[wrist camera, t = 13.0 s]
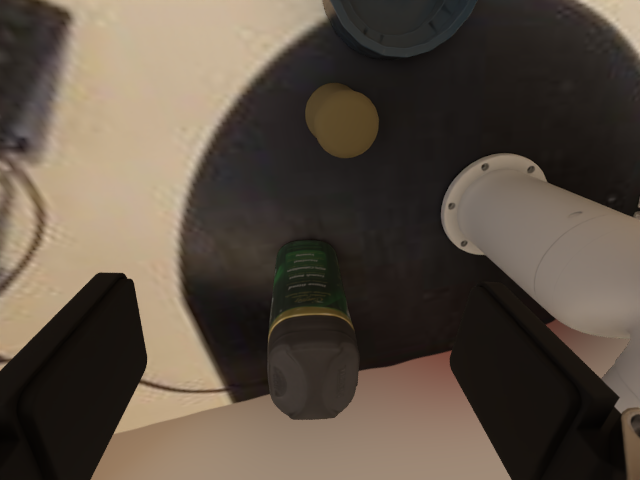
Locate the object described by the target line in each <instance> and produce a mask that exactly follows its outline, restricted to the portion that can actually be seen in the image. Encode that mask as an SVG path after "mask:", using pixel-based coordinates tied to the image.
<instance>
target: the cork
mask: <svg viewBox="0 0 640 480" xmlns="http://www.w3.org/2000/svg"><path fill="white" fill-rule="evenodd" d="M305 117H306V123H307V125H308V128H309V130H310V131H311V133H312V134H313V135H314V136H315V137H316V138H317V139H318V142H319V143H320V145H321V146H322V147H323V149H324V150H325V151H327V152H328V153H330V154H331V155H333V156H336V157H340V158H352V157H355V156H357V155H360V154H362V153H363V152H365V151H366V150H367V149H368V148H370V146H371V145H372V143H373V142H374V140H375V138H376V135H377V132H378V124H379V118H378V114H377V111H376V108H375V106H374V105H373V103H372V102H371V100H370V99H368V98H367V97H366V96H364V95H363V94H362V93H359V92H355V91H353V90H352V89H350V88H349V87H348V86H346V85H343V84H340V83H328V84H326V85H323V86H321V87H319V88H318V89H317V90H316V91H314V92H313V93H312V95H311V96H310V98H309V100H308V101H307V106H306V110H305Z"/></svg>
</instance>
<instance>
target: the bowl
mask: <svg viewBox="0 0 640 480" xmlns="http://www.w3.org/2000/svg"><path fill="white" fill-rule="evenodd" d="M476 2H477V0H323V5H324V10H325V13H326V15H327V16H328V18H329V20H330V22H331V24H332V26H333V28H334V30H335V32H336V34H337V35H338V36H339V37H340V38H341V39H342V40H343V41H344V42H345V43H346V44H347V45H348V46H349V47H350V48H351V49H353V50H354V51H357V52H359V53H361V54H363V55H365V56H367V57H369V58H372V59H382V60H396V59H401V58H407V57H411V56H414V55H418V54H422V53H425V52H429V51H431V50H432V49H434V48H435V47H437V46H438V45H440V44H442V43H443V42H445V41H446V40H448V39H449V38H451V37H452V36H453V35H454V33H455V32H456V31H457V30H458V29H459V28H460V26H461V25H462V24H463V23H464V22H465V21H466V19H467V18H468V17H469V16H470V14H471V13H472V11H473V8H474V6H475V4H476Z"/></svg>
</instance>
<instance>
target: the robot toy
mask: <svg viewBox="0 0 640 480" xmlns="http://www.w3.org/2000/svg"><path fill="white" fill-rule="evenodd" d="M638 208H640V198H639V203H638ZM633 218H636V219H638V220H640V211H637V212H635V213H634V215H633Z"/></svg>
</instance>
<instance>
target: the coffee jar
mask: <svg viewBox="0 0 640 480" xmlns="http://www.w3.org/2000/svg"><path fill="white" fill-rule="evenodd" d="M267 354H268V361H267V371H268V383H269V389H270V395H271V398H272V400H273V402H274V404H275V405H276V406H277V407H278V408H279V409H280V410H281V411H282V412H283V413H285V414H286V415H288V416H289V417H290V418H291V419H294V420H305V419H306V420H308V419H309V420H313V419H327V418H335V417H336V416H337V415H338V414H339V413H340V412H342V411H343V410H344V409H345V408H346V407H347V406H348V405H349V403H350V402H351V400H352V399H353V396H354V394H355V390H356V386H357V383H358V371H359V360H360V354H359V352H358V348H357V342H356V336H355V332H354V328H353V325H352V322H351V319H350V315H349V311H348V306H347V302H346V297H345V293H344V288H343V284H342V279H341V274H340V269H339V264H338V259H337V255H336V252H335V250H334V249H333V248H332V246H331V245H329V244H328V243H325V242H323V241H317V240H299V241H293V242H290V243H287V244H286V245H284V246H283V247H282V248H281V249H280V250H279V252H278V255H277V259H276V267H275V277H274V287H273V296H272V304H271V314H270V324H269V338H268V353H267Z"/></svg>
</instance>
